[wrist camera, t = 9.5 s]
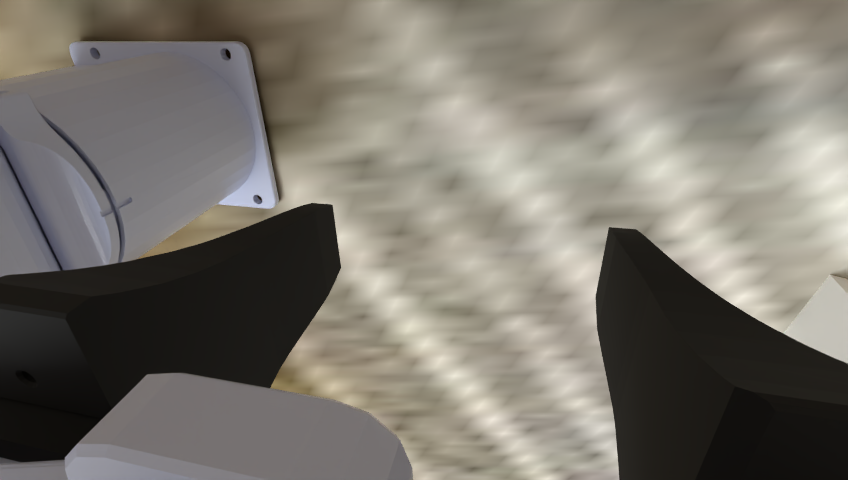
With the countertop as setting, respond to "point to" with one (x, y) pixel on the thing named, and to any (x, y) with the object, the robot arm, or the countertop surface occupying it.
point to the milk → (825, 320)
